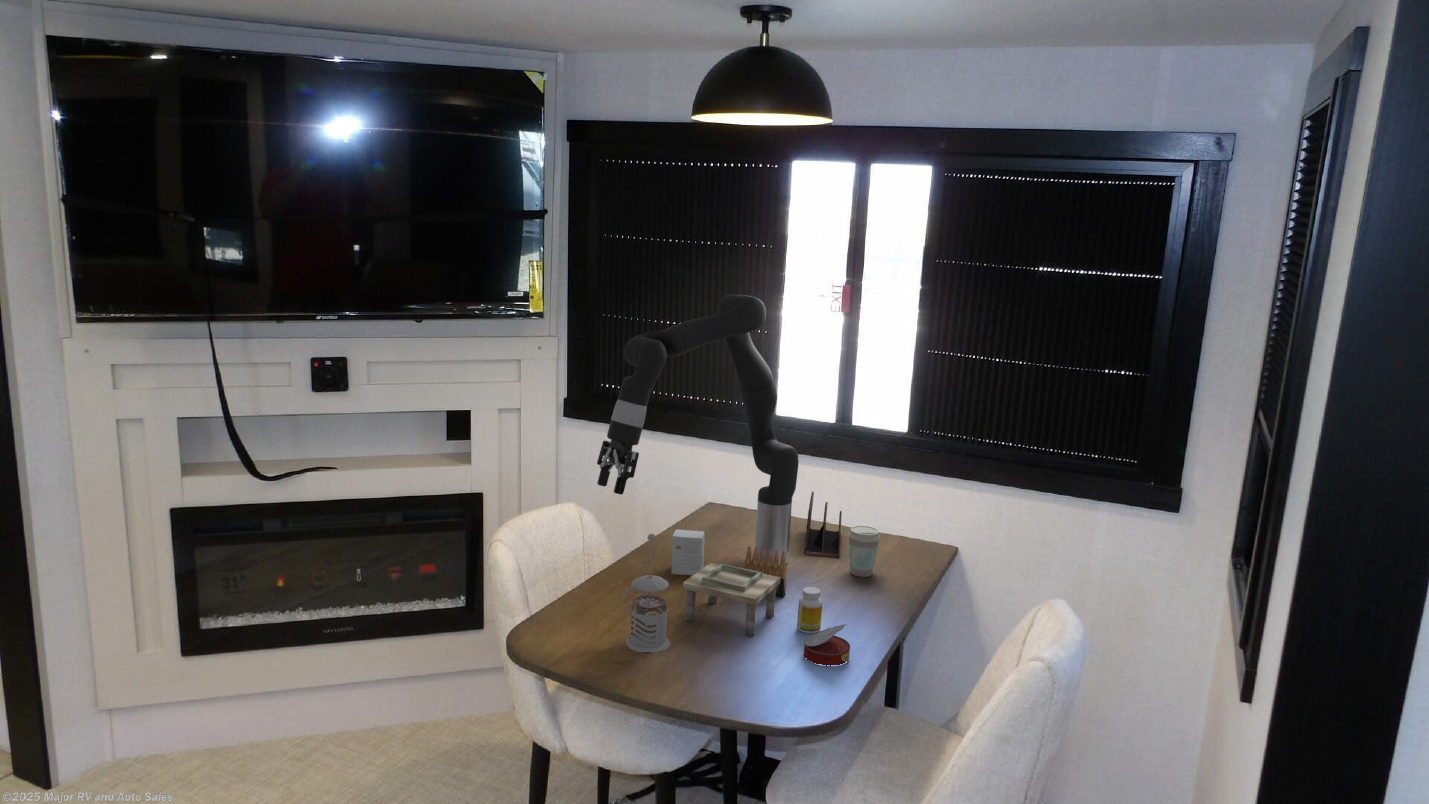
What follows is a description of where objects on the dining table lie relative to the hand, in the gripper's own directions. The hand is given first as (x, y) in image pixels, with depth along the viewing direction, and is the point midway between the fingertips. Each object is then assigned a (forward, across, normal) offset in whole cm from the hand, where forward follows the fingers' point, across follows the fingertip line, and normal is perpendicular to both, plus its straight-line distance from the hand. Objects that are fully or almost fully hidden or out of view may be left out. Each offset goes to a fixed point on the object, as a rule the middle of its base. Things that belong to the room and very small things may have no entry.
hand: (609, 489), depth 223 cm
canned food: (+22, -44, -38) cm, 62 cm away
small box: (+20, +12, -35) cm, 42 cm away
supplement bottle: (+19, -31, -42) cm, 56 cm away
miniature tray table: (+22, -18, -30) cm, 41 cm away
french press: (+29, -20, -7) cm, 36 cm away
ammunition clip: (+18, -9, -45) cm, 49 cm away
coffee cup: (+9, -9, -76) cm, 77 cm away
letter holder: (+7, +13, -80) cm, 81 cm away
